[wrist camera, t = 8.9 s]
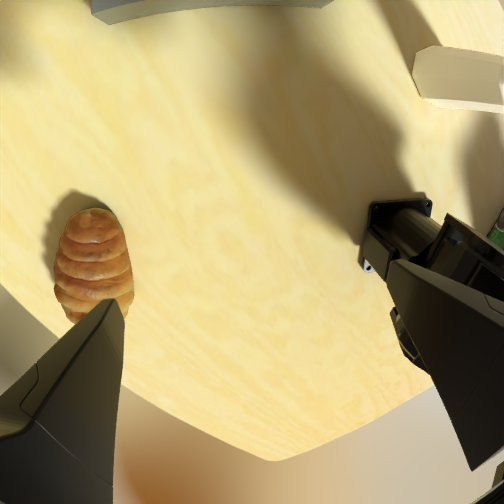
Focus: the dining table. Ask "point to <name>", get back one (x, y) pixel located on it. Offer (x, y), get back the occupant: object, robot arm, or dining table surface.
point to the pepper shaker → (460, 78)
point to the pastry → (92, 264)
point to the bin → (177, 6)
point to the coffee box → (498, 232)
